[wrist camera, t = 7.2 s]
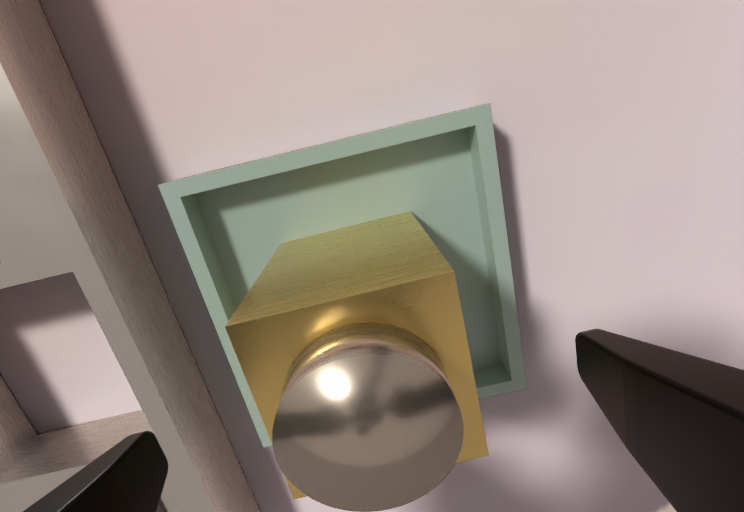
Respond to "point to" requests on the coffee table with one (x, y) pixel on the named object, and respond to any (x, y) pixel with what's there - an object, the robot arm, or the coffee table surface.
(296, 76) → the coffee table surface
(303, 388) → the brass block with knob
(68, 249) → the grey slotted plate
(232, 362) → the parts tray
